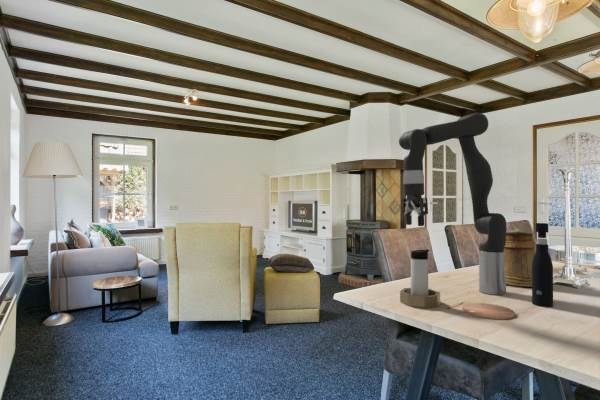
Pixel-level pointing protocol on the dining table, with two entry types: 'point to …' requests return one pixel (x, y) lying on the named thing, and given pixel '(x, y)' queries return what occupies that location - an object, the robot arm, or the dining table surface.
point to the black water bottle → (542, 270)
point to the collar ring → (420, 299)
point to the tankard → (519, 257)
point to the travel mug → (419, 272)
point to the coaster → (488, 311)
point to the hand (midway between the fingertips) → (414, 225)
